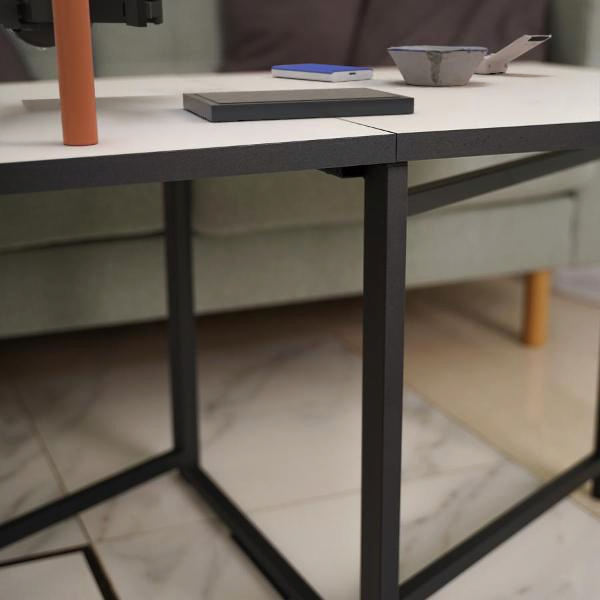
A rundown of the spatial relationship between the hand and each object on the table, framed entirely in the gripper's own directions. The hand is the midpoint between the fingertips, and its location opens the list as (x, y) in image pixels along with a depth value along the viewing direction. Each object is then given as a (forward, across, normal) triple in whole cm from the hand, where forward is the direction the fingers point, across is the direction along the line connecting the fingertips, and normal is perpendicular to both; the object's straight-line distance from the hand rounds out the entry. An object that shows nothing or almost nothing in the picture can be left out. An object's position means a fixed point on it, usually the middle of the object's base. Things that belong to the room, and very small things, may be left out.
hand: (59, 11), depth 75 cm
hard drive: (-43, -39, -10) cm, 59 cm away
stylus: (+10, 0, -10) cm, 14 cm away
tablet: (-5, -22, -10) cm, 25 cm away
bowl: (-29, -50, -10) cm, 59 cm away
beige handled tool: (-46, -65, -10) cm, 81 cm away
